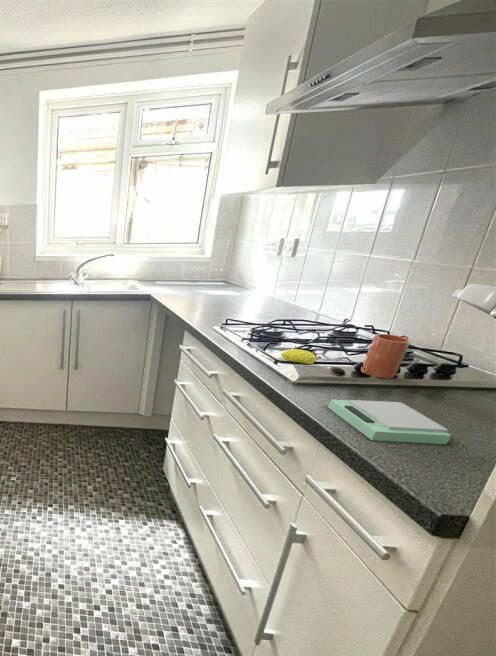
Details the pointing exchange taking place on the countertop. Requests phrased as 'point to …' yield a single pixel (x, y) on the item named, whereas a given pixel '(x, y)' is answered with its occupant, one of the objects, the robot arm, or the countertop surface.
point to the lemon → (299, 356)
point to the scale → (389, 421)
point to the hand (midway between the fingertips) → (471, 300)
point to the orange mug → (385, 355)
